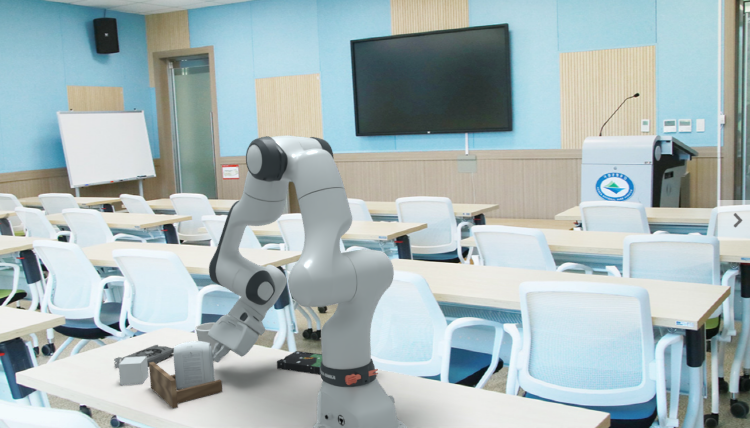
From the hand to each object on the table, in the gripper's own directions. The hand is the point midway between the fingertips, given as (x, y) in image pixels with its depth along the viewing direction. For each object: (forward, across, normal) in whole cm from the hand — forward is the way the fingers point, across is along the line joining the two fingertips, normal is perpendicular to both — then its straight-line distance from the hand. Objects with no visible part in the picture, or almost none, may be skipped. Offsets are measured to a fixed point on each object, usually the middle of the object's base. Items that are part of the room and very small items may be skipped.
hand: (213, 360), depth 180 cm
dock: (+10, +1, -1) cm, 10 cm away
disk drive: (-13, +5, +24) cm, 28 cm away
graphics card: (+11, -31, -1) cm, 33 cm away
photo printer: (+8, 0, +1) cm, 8 cm away
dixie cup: (0, -21, +10) cm, 23 cm away
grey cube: (+17, -17, -7) cm, 25 cm away
